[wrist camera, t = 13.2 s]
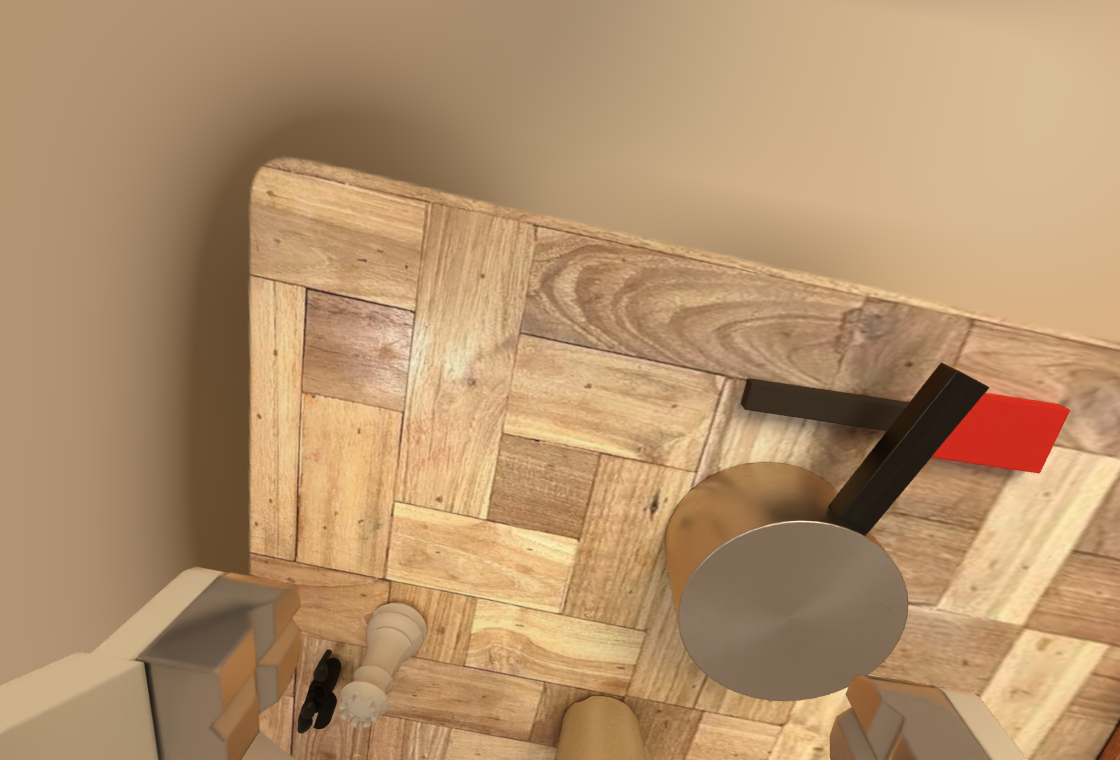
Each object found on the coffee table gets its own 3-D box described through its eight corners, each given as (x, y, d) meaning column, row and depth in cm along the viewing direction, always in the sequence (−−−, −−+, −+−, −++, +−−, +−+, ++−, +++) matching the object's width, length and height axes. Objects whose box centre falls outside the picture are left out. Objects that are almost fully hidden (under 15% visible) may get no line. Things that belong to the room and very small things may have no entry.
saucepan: (816, 298, 32) (872, 323, 26) (995, 393, 34) (1092, 441, 27) (631, 573, 40) (638, 648, 33) (783, 644, 41) (819, 730, 34)
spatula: (752, 358, 34) (756, 363, 33) (1057, 403, 34) (1071, 409, 33) (735, 422, 35) (739, 428, 34) (1028, 466, 35) (1040, 474, 34)
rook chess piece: (420, 595, 42) (380, 684, 34) (434, 641, 43) (399, 736, 35) (365, 601, 42) (314, 690, 35) (382, 646, 44) (336, 741, 36)
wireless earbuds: (333, 633, 43) (301, 687, 39) (363, 644, 44) (334, 699, 39) (314, 693, 46) (281, 751, 41) (343, 703, 46) (313, 762, 41)
